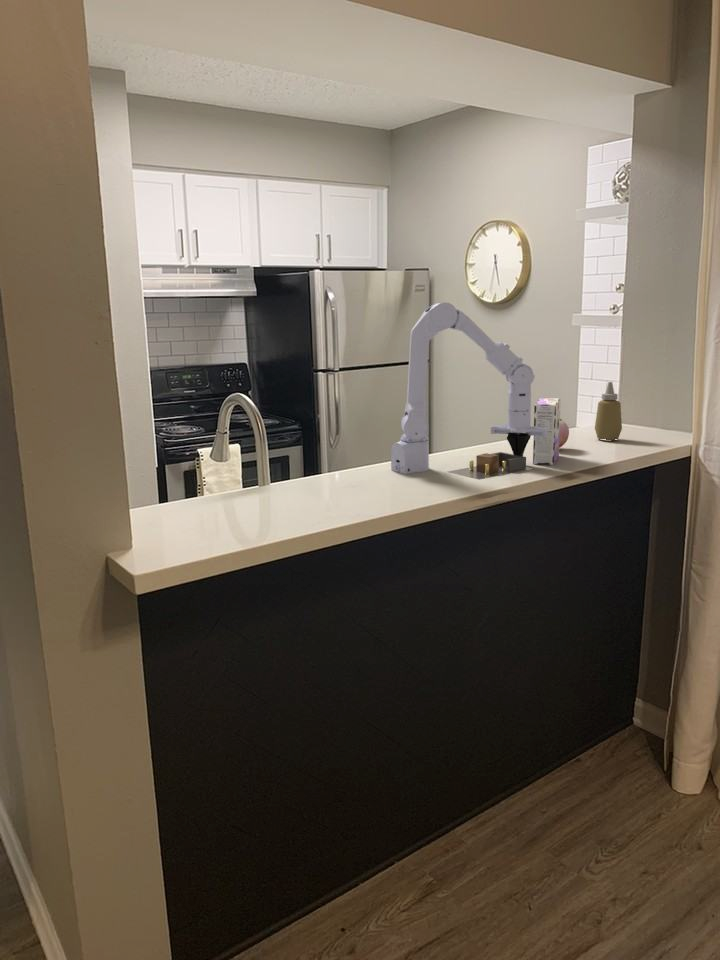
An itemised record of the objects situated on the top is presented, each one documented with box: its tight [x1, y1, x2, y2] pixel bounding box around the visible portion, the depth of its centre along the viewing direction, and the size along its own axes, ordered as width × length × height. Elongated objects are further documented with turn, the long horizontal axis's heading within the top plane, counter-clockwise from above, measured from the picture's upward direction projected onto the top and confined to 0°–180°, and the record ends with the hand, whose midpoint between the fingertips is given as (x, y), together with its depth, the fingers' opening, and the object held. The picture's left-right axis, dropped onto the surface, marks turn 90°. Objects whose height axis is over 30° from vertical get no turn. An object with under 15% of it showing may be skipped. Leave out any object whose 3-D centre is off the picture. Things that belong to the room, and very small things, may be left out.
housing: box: [491, 451, 527, 472], centre depth 200 cm, size 6×9×3 cm, turn 34°
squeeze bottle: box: [594, 381, 623, 440], centre depth 240 cm, size 8×8×18 cm
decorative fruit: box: [559, 418, 570, 449], centre depth 228 cm, size 9×8×10 cm
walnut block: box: [475, 452, 499, 473], centre depth 197 cm, size 4×4×4 cm
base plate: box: [446, 460, 535, 480], centre depth 198 cm, size 19×12×4 cm, turn 124°
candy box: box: [532, 397, 561, 466], centre depth 213 cm, size 14×6×16 cm, turn 161°
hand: (518, 462), depth 203 cm, fingers closed
